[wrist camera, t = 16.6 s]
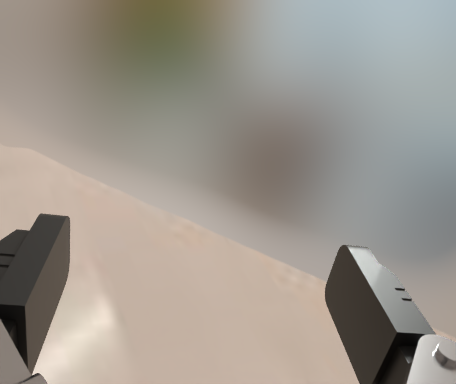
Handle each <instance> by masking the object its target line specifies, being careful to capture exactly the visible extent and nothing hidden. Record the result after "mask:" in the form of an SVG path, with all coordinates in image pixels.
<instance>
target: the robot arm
mask: <svg viewBox="0 0 456 384" xmlns="http://www.w3.org/2000/svg"><path fill="white" fill-rule="evenodd" d="M69 263H70V218H69V217H68V216H60V215H50V214H40V215H39V216H38V217H37V219H36V221H35V223H34V224H33V226H32V228H31V229H30V231H27V230H15V231H14V232H12V233H11V234H9V235H8V236H6V237H5V238H3V239H2V240H1V241H0V384H47V382H46V380H45V379H44V377H43V376H42V375H41V374H39V373H37V374H35V375H32V373H33V370H34V367H35V365H36V362H37V359H38V357H39V354H40V351H41V349H42V346H43V343H44V341H45V338H46V335H47V333H48V330H49V327H50V325H51V322H52V319H53V316H54V314H55V311H56V308H57V306H58V303H59V300H60V298H61V295H62V292H63V290H64V287H65V284H66V281H67V277H68V272H69ZM325 300H326V304H327V307H328V309H329V312H330V314H331V316H332V319H333V321H334V324H335V326H336V328H337V331H338V333H339V336H340V338H341V340H342V343H343V345H344V347H345V350H346V352H347V355H348V357H349V359H350V362H351V364H352V367H353V369H354V371H355V374H356V376H357V378H358V381H359V383H360V384H456V342H454V341H452V340H450V339H448V338H446V337H443V336H439V335H436V334H435V332H434V331H433V329H432V328H431V326H430V325H429V324H428V322H427V320H426V319H425V318H424V316H423V315H422V313H421V312H420V311H419V309H418V308H417V306H416V304H415V303H414V302H412V299H411V297H410V296H409V294H408V293H407V292H406V291H405V289H404V287H403V285H402V284H401V283H400V281H399V280H398V278H397V277H396V276H395V275H394V274H393V273H392V272H391V271H389V270H388V269H387V268H386V267H385V266H383V265H379V263H378V262H377V260H376V259H375V257H374V255H373V254H372V253H371V251H370V249H369V248H367V247H359V246H349V245H342V246H341V247H340V249H339V250H338V253H337V256H336V258H335V261H334V264H333V267H332V270H331V272H330V275H329V278H328V281H327V284H326V288H325Z"/></svg>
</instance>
